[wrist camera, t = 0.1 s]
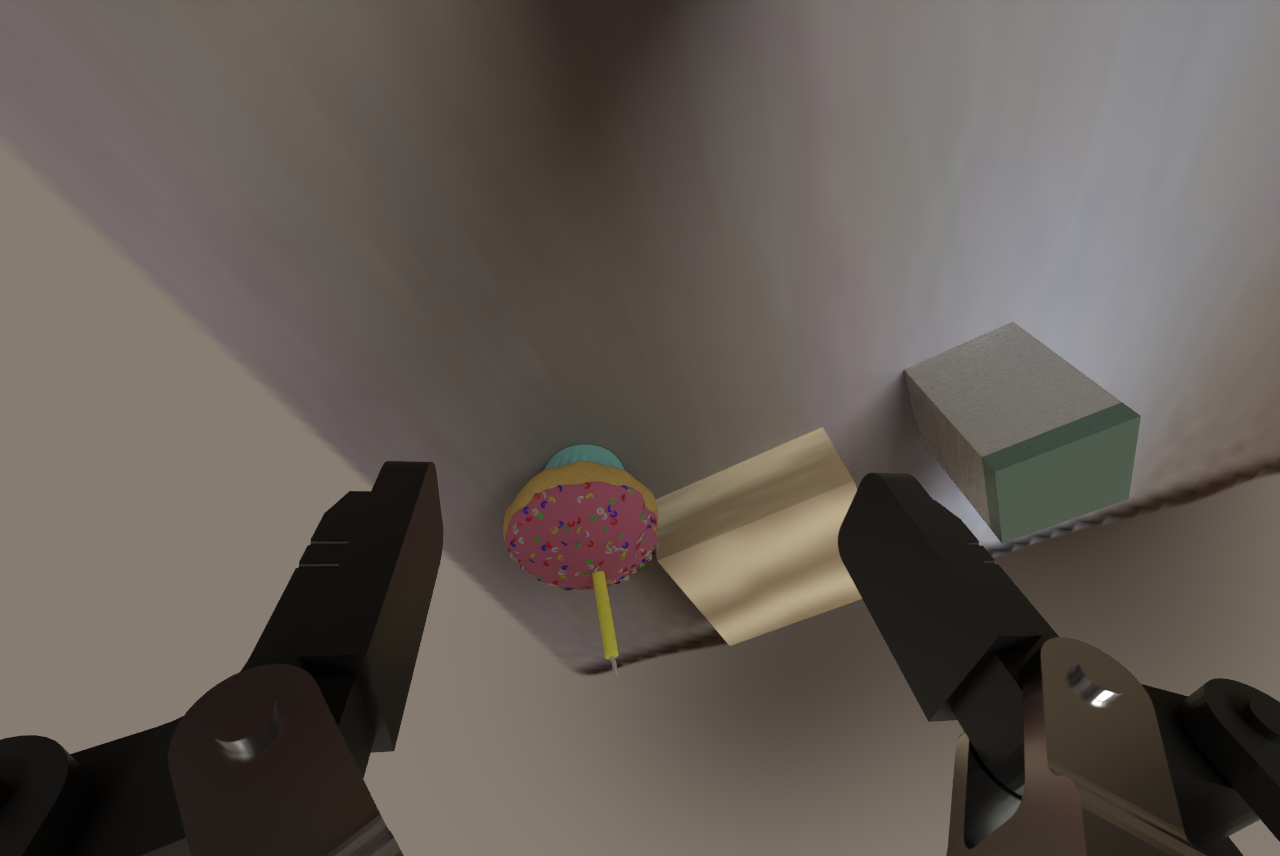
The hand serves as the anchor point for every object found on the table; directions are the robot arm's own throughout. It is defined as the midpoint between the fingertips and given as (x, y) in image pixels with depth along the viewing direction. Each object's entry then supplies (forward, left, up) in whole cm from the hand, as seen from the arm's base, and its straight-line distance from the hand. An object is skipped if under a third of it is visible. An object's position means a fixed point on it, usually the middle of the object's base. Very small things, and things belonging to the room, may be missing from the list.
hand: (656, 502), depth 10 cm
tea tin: (+8, +22, -17) cm, 29 cm away
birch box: (+20, +13, -18) cm, 29 cm away
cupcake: (+16, 0, -18) cm, 24 cm away
